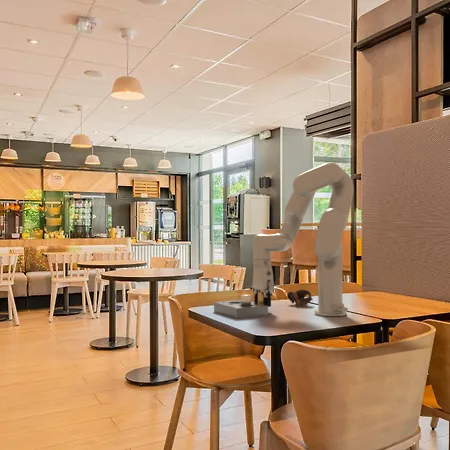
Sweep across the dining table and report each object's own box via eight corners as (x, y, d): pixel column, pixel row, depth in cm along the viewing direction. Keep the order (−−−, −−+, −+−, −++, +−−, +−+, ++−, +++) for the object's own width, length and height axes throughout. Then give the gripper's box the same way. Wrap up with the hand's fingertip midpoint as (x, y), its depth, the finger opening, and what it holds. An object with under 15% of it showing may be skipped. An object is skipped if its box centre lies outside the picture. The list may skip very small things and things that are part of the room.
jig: (267, 315, 187) (267, 295, 187) (236, 318, 180) (236, 297, 180) (243, 309, 204) (242, 290, 205) (214, 311, 198) (213, 292, 198)
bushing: (269, 311, 199) (269, 292, 199) (261, 311, 197) (260, 292, 197) (264, 309, 202) (264, 291, 202) (256, 310, 200) (256, 291, 201)
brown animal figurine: (313, 305, 218) (315, 291, 214) (307, 317, 211) (308, 302, 207) (289, 297, 223) (290, 283, 219) (281, 308, 215) (283, 294, 211)
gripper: (281, 264, 194) (281, 307, 194) (259, 262, 210) (259, 302, 209) (265, 264, 191) (266, 309, 190) (244, 262, 206) (244, 303, 206)
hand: (262, 305), depth 200 cm, fingers open, 6 cm apart
